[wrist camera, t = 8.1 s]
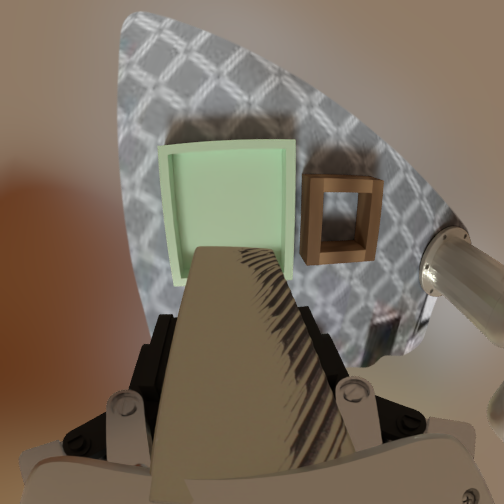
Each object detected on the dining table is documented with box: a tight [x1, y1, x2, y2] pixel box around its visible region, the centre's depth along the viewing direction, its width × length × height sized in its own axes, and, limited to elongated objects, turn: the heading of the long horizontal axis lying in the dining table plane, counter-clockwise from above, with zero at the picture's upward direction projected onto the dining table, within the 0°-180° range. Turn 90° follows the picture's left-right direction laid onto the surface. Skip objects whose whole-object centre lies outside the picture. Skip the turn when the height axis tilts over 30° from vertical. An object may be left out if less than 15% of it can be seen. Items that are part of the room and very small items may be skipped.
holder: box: [299, 174, 384, 266], centre depth 31 cm, size 9×10×4 cm
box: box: [149, 246, 356, 504], centre depth 10 cm, size 5×4×13 cm
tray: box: [158, 139, 296, 286], centre depth 30 cm, size 14×16×3 cm
